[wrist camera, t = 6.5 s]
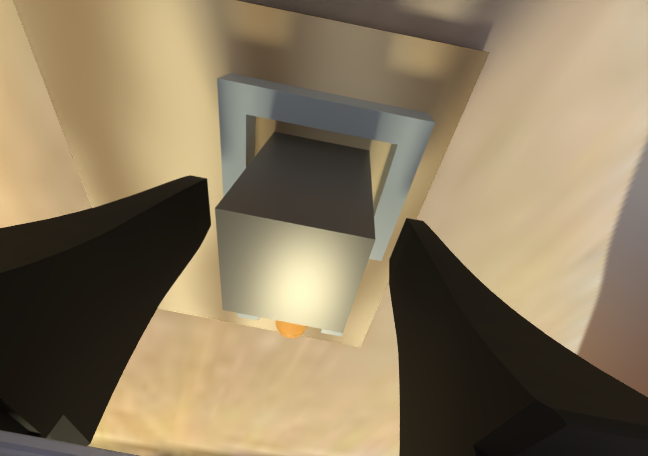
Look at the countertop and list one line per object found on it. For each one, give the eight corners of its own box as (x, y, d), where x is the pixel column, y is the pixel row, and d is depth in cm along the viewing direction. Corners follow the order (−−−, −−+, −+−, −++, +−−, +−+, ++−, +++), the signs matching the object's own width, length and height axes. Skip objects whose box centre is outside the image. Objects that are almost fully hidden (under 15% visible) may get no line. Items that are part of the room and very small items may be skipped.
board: (131, 298, 20) (127, 302, 20) (6, -48, 10) (-7, -50, 9) (360, 342, 20) (360, 347, 20) (484, 51, 10) (488, 52, 10)
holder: (233, 216, 15) (225, 230, 14) (229, 73, 11) (217, 78, 10) (379, 245, 15) (381, 261, 14) (428, 113, 11) (435, 122, 10)
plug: (263, 311, 19) (230, 411, 14) (274, 131, 12) (214, 208, 7) (323, 322, 19) (310, 425, 14) (369, 150, 12) (375, 239, 7)
